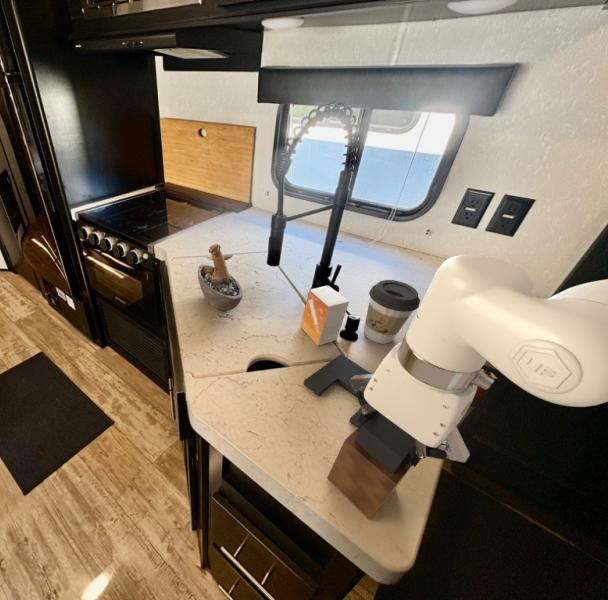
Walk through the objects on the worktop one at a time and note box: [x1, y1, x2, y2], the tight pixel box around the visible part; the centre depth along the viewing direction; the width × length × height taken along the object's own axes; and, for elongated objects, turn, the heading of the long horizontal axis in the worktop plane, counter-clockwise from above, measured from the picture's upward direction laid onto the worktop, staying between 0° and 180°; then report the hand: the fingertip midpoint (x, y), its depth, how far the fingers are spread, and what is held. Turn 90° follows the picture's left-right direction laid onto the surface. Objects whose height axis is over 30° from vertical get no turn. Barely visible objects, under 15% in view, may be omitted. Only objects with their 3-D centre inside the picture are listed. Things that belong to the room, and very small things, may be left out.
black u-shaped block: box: [303, 353, 372, 429], centre depth 69 cm, size 16×14×2 cm
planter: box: [197, 243, 244, 312], centre depth 91 cm, size 15×17×20 cm
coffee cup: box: [363, 279, 421, 345], centre depth 81 cm, size 11×11×15 cm
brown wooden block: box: [326, 427, 414, 521], centre depth 50 cm, size 8×8×12 cm
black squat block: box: [355, 412, 415, 474], centre depth 46 cm, size 6×6×4 cm
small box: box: [300, 285, 350, 346], centre depth 82 cm, size 8×6×13 cm
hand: (384, 443), depth 46 cm, fingers closed on black squat block, 6 cm apart
